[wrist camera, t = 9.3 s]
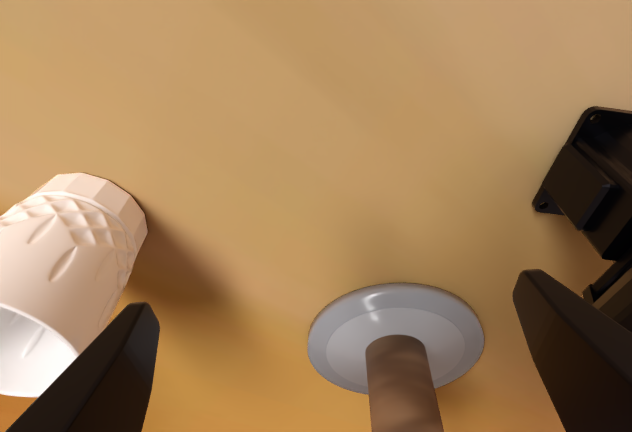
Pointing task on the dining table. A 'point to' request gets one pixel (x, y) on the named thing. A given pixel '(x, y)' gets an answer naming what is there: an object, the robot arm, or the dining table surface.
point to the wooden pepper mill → (401, 386)
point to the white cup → (62, 275)
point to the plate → (394, 331)
